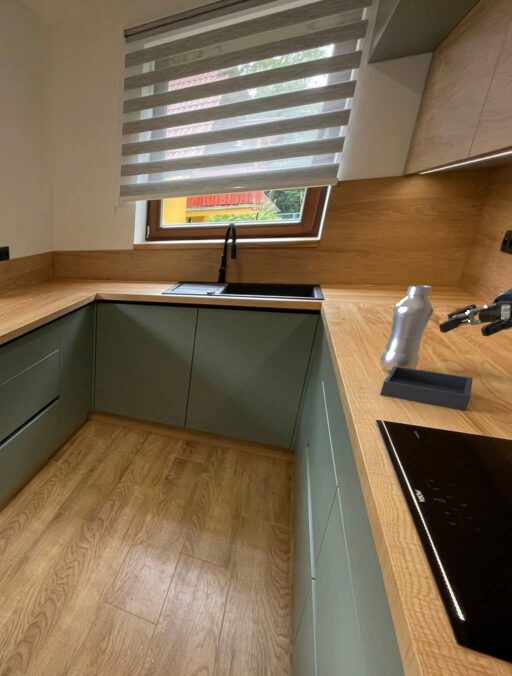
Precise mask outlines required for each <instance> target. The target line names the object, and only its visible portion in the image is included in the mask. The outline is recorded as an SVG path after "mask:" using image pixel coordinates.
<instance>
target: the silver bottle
mask: <svg viewBox="0 0 512 676" xmlns="http://www.w3.org/2000/svg"><path fill="white" fill-rule="evenodd" d="M432 287H433V286H432V285H431V286H430V285H419V284H417V285H416V284H415V285H414V284H411V285H409V286H408V288H407V291H406V297H404V298H403V299H402V300H400V301H399V302H398V303H396V305H395V306H394V308H393V312H392V324H391V330H390V335H389V337H388V341H387V343H386V346H385V349H384V350H383V351H382V354H381V356H380V359H379V360H380V361H379V365H380V367H381V368H382V369H383V370H386V371H389V372H390V371H391V370H392V368H393V366H396V367H403V368H410V369H417V366H418V364H419V360H420V354H419V353H420V347H421V342H422V339H423V334H424V333H425V330H426V328H427V326H428V324H429V321H430V319H431V317H432V316H433V313H434V306H433V305H432V303H431V301H430V299H429V296H431V292H432Z"/></svg>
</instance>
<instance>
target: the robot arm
mask: <svg viewBox="0 0 512 676" xmlns="http://www.w3.org/2000/svg"><path fill="white" fill-rule="evenodd" d="M446 316H447V319H448V320H446V321H444V322H441V323H440V324H439V326H438V328H439V332H440V333H443V334H446V333H448V332H450V331H453V330H456V329H458V328H459V327H462V326H467V325H470V326H478V325H481V324H485V325H483V326H481V328H480V331H481V335H482V336H483V337H490V336H492V335H494V334H497V333H499V332H502V331H506V330H507V331H508V330H511V329H512V288H510V289H508V290H505V291H503V292H501V293H500V294H498V295H497V296H496V297H495V299H493V301H492V303H489V304H485V305H484V306H481V307H477V304H475V303H473V304H468V305H467V306H464V307H462V308H459V309H457V310H455V311H452V312H450V313H448V314H446ZM476 316H478V320H476V319H475V318H476ZM486 323H487V324H486Z"/></svg>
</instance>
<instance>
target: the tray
mask: <svg viewBox="0 0 512 676" xmlns="http://www.w3.org/2000/svg"><path fill="white" fill-rule="evenodd" d="M473 379H474V378H473V377H470V376H463V375H456V374H448V373H444V372H443V373H442V372H436V371H429V370H422V369H417V368H415V369H410V368H403V367H396V366H393V368H392V370H391V371H390V370H389V372H388V375H386V377H385V379H384V380H383V384H382V386H381V390H380V394H379V395H380V396H384V397H390V398H395V399H400V400H406V401H412V402H417V403H421V404H427V405H432V406H438V407H443V408H448V409H454V410H459V411H463V412H464V411H466V409H467V407H468V404H469V401H470V399H471V396H472V387H473Z"/></svg>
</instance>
